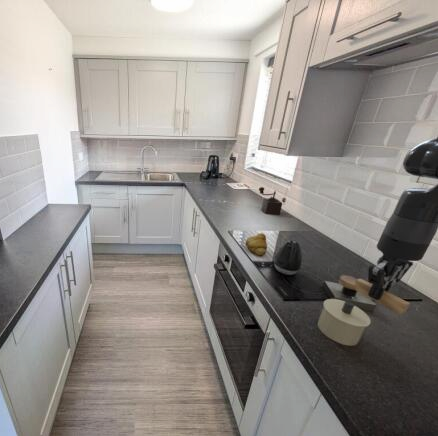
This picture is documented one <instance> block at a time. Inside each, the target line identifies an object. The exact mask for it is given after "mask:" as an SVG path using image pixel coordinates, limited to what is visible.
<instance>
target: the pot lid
mask: <svg viewBox="0 0 438 436" xmlns="http://www.w3.org/2000/svg"><path fill="white" fill-rule="evenodd" d="M322 305H323V306H322V307H324V309H325V310H326V311H327V312H328V313H329V314H330V315H331V316H332V317H334V318H335V319H337V320H339V321H340V322H343V323H345V324H347V325H350V326H354V327H359V328H365V327H366V328H368V327H369V326H370V325H371V323H372V322H371V318H370V316H369V315H368V314H367V313H366V312H365V311H364V310H361V309H359V308H358V307H356V306H354V304H353V303H351V302H349V301H342V300H338V299H329V298H327V299H325V300H324V301H323V304H322Z"/></svg>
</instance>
